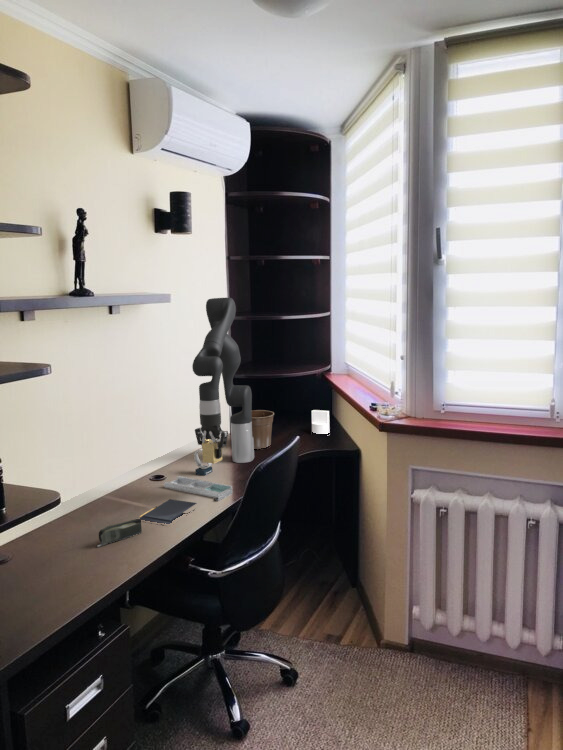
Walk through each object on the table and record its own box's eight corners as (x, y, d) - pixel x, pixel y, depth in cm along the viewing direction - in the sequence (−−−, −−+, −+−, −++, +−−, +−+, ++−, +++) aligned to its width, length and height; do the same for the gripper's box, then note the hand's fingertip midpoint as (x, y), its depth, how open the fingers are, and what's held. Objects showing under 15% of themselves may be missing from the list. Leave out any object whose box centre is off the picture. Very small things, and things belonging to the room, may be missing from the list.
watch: (208, 478, 231) (207, 452, 229) (192, 476, 235) (190, 450, 233) (216, 474, 236) (215, 448, 234) (200, 472, 239) (199, 446, 238)
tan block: (211, 458, 214) (210, 439, 213) (222, 459, 211) (221, 441, 210) (202, 461, 209) (201, 443, 208) (213, 463, 207) (212, 444, 206)
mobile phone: (137, 516, 183) (92, 529, 173) (142, 519, 181) (97, 532, 171) (138, 531, 184) (93, 545, 173) (143, 534, 181) (98, 548, 171)
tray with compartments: (179, 483, 227) (178, 475, 226) (232, 493, 213) (232, 485, 213) (164, 489, 220) (163, 482, 219) (218, 501, 206) (217, 493, 206)
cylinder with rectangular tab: (309, 435, 292) (308, 412, 290) (315, 431, 300) (314, 408, 298) (326, 436, 288) (325, 413, 286) (332, 432, 296) (331, 409, 295)
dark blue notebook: (169, 523, 185) (132, 516, 192) (169, 528, 186) (132, 521, 192) (203, 501, 203) (168, 495, 210) (204, 506, 203) (169, 501, 210)
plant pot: (281, 443, 278) (280, 411, 276) (265, 452, 264) (263, 418, 262) (252, 440, 286) (250, 408, 283) (234, 449, 272) (233, 415, 269)
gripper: (232, 411, 207) (234, 457, 209) (201, 408, 214) (203, 452, 217) (219, 415, 201) (221, 462, 203) (188, 412, 208) (190, 457, 211)
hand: (212, 457), depth 210 cm, fingers closed on tan block, 5 cm apart
